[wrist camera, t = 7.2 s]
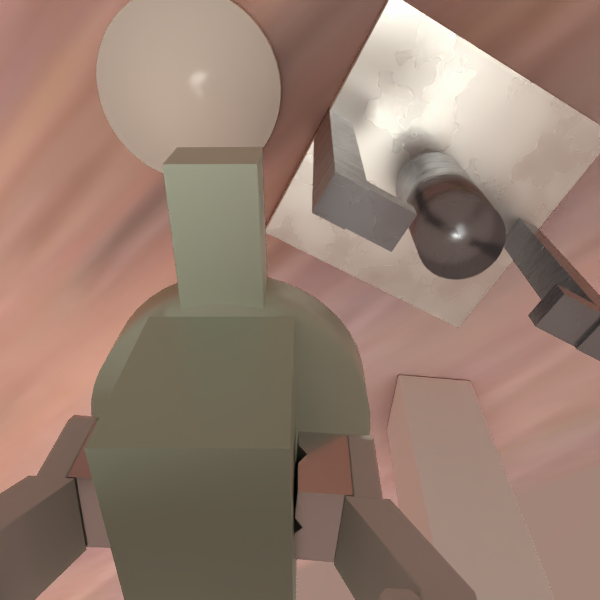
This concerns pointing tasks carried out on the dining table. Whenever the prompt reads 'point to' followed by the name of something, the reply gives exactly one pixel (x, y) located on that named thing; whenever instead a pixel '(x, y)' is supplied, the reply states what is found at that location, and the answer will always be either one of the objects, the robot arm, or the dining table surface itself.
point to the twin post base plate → (443, 178)
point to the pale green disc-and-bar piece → (216, 400)
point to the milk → (461, 489)
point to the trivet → (187, 78)
